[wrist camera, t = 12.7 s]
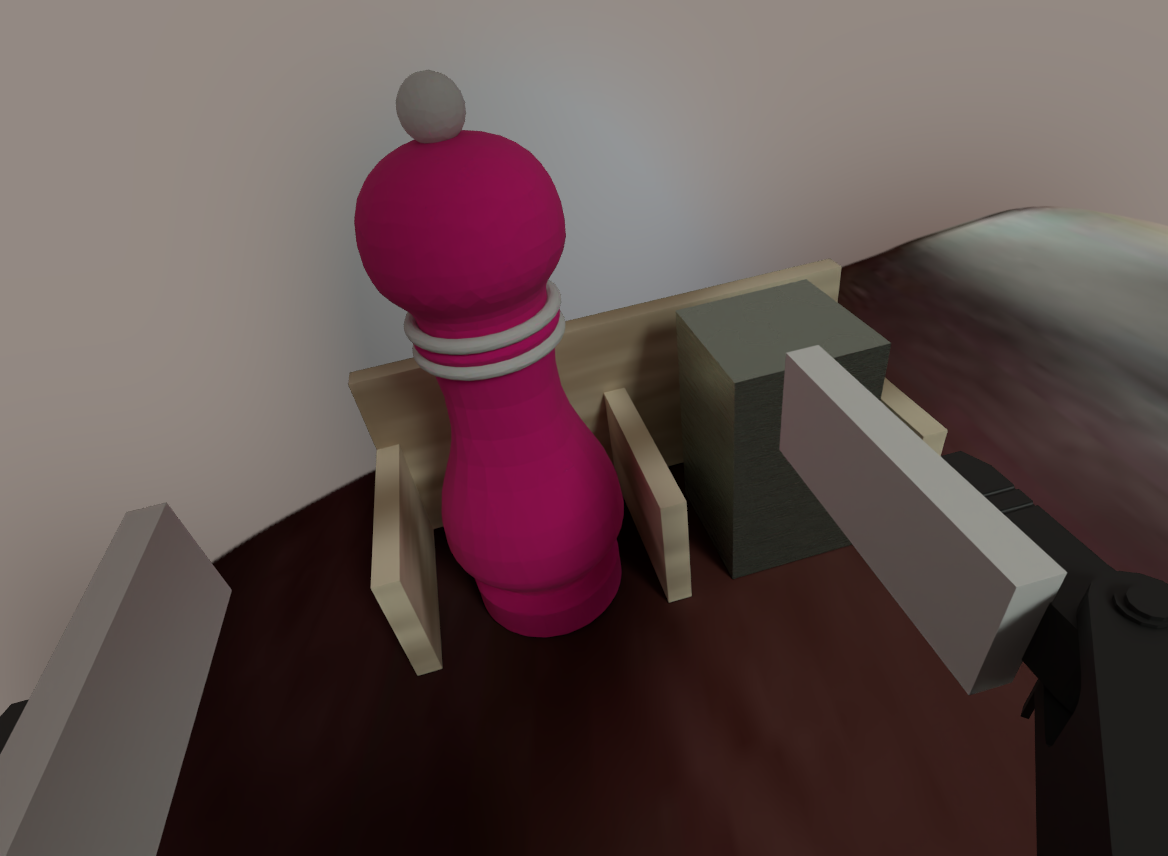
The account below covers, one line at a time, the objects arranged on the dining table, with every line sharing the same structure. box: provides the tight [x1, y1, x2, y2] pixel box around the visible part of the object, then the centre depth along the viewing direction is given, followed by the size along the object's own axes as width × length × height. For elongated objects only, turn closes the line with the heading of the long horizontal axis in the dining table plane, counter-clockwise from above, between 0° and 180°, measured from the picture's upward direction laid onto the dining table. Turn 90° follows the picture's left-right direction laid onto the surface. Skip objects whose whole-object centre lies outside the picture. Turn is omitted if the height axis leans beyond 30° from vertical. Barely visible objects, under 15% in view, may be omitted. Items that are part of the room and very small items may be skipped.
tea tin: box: [675, 279, 891, 579], centre depth 26 cm, size 6×6×10 cm
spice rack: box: [348, 259, 947, 676], centre depth 27 cm, size 9×22×9 cm, turn 104°
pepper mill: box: [354, 70, 624, 637], centre depth 22 cm, size 7×7×20 cm
